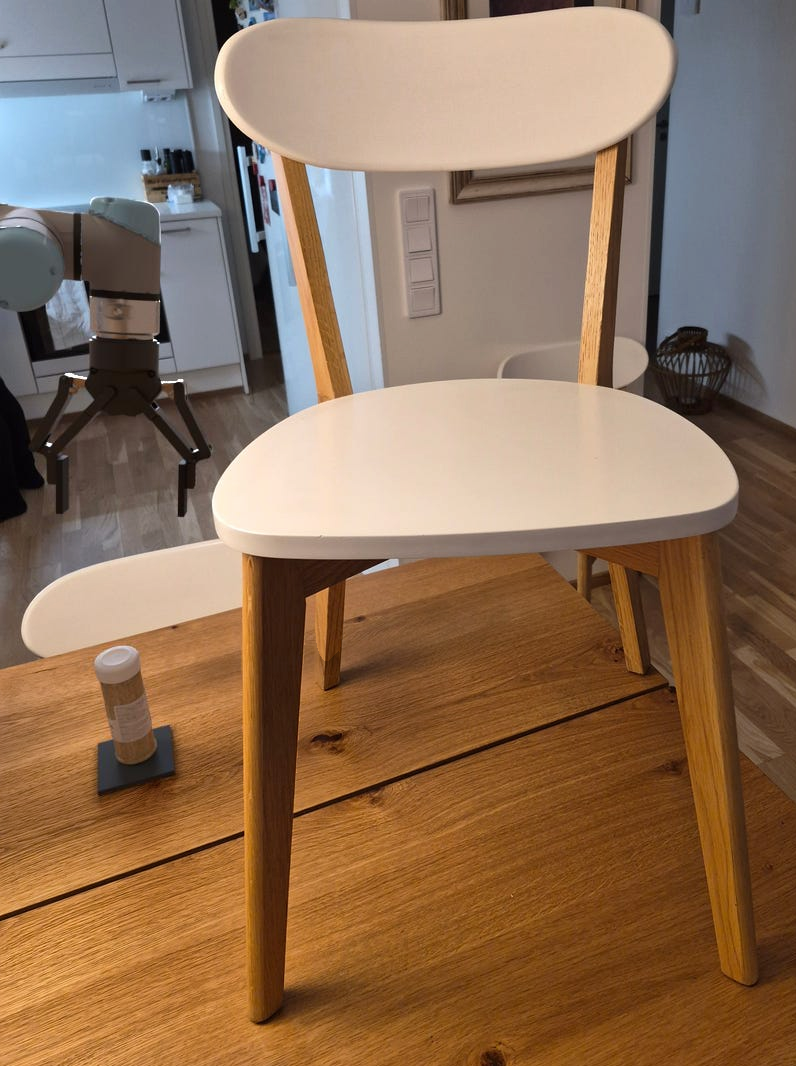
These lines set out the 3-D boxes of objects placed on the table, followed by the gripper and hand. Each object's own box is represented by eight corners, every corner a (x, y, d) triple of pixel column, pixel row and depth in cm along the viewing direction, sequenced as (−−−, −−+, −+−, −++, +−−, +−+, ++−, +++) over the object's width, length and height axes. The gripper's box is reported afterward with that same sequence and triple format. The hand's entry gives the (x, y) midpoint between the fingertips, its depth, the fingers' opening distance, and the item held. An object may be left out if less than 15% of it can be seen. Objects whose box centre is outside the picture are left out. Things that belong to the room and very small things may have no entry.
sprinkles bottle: (115, 744, 99) (93, 649, 94) (157, 733, 101) (137, 639, 95) (116, 771, 95) (93, 674, 90) (159, 759, 97) (139, 663, 91)
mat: (98, 795, 93) (97, 791, 93) (98, 746, 100) (97, 742, 99) (175, 774, 96) (174, 770, 95) (170, 728, 102) (169, 724, 102)
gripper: (-4, 329, 93) (-1, 518, 97) (233, 345, 98) (227, 523, 102) (19, 327, 100) (20, 502, 104) (238, 341, 105) (232, 508, 109)
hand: (123, 513), depth 103 cm, fingers open, 13 cm apart
